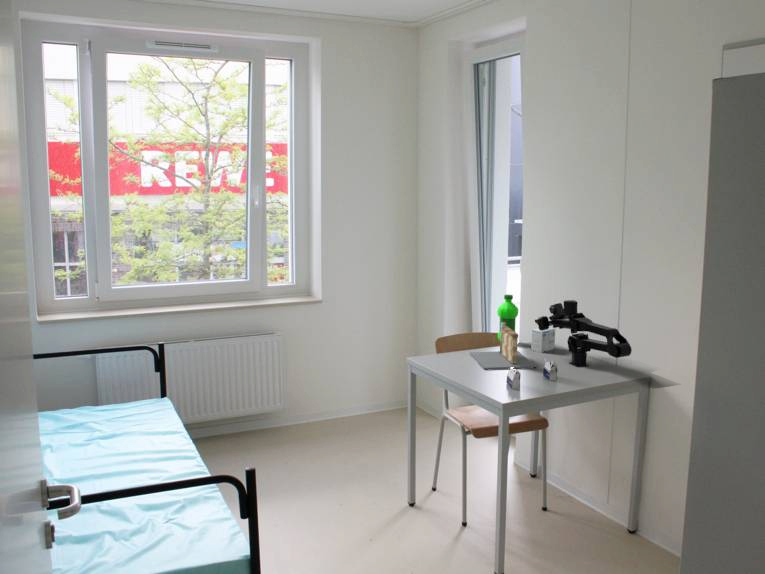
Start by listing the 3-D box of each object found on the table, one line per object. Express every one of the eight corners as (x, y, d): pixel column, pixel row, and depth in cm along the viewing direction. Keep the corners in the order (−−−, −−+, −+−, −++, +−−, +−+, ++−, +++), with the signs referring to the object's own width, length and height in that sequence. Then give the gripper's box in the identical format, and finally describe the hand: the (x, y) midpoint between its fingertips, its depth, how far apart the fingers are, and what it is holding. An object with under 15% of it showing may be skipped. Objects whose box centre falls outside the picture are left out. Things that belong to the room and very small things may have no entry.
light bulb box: (543, 346, 343) (544, 325, 341) (555, 349, 337) (556, 328, 336) (530, 350, 336) (531, 328, 334) (541, 353, 331) (542, 331, 329)
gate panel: (500, 353, 323) (501, 326, 321) (506, 353, 324) (507, 326, 321) (511, 363, 307) (512, 334, 305) (517, 363, 307) (518, 334, 305)
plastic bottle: (492, 342, 349) (494, 295, 345) (506, 339, 356) (508, 292, 351) (506, 347, 341) (508, 298, 337) (521, 343, 348) (523, 295, 343)
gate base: (517, 352, 331) (519, 320, 328) (536, 368, 305) (537, 333, 302) (469, 354, 328) (470, 321, 325) (483, 369, 302) (485, 334, 300)
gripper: (579, 302, 320) (555, 300, 334) (549, 308, 311) (526, 305, 325) (580, 325, 321) (556, 322, 335) (551, 332, 312) (528, 328, 326)
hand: (542, 319), depth 330 cm, fingers open, 9 cm apart
